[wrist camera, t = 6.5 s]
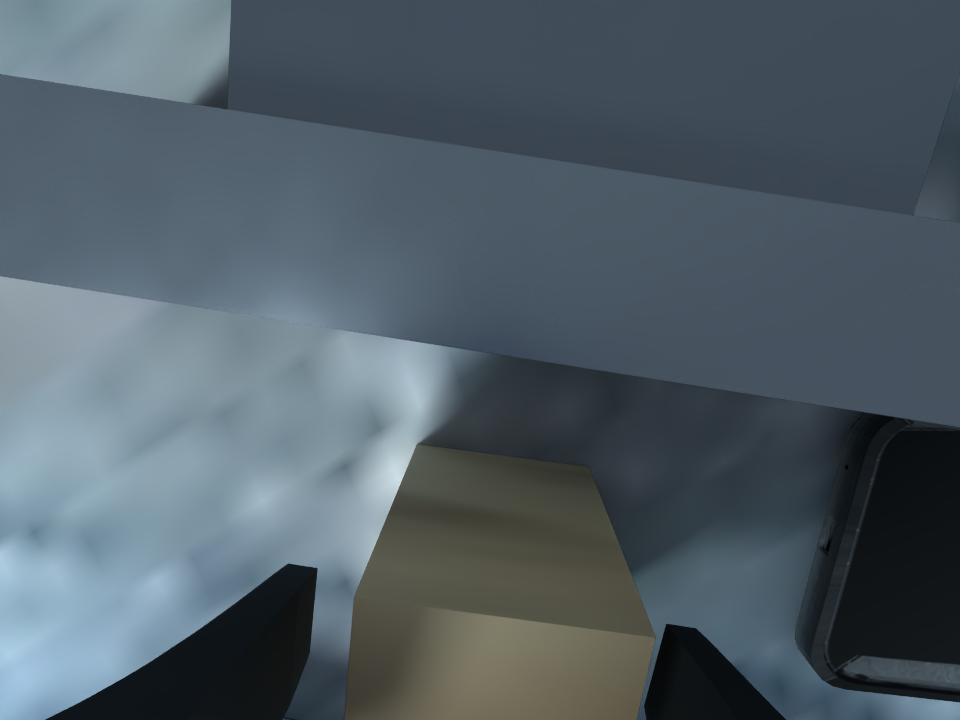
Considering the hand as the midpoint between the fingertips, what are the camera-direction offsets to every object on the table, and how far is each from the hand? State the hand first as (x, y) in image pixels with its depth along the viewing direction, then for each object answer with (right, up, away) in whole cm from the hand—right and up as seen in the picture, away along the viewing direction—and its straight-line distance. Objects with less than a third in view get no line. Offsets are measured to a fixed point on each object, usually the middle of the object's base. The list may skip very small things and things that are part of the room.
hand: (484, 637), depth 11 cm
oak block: (0, +1, +4) cm, 4 cm away
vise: (+2, +10, +1) cm, 10 cm away
